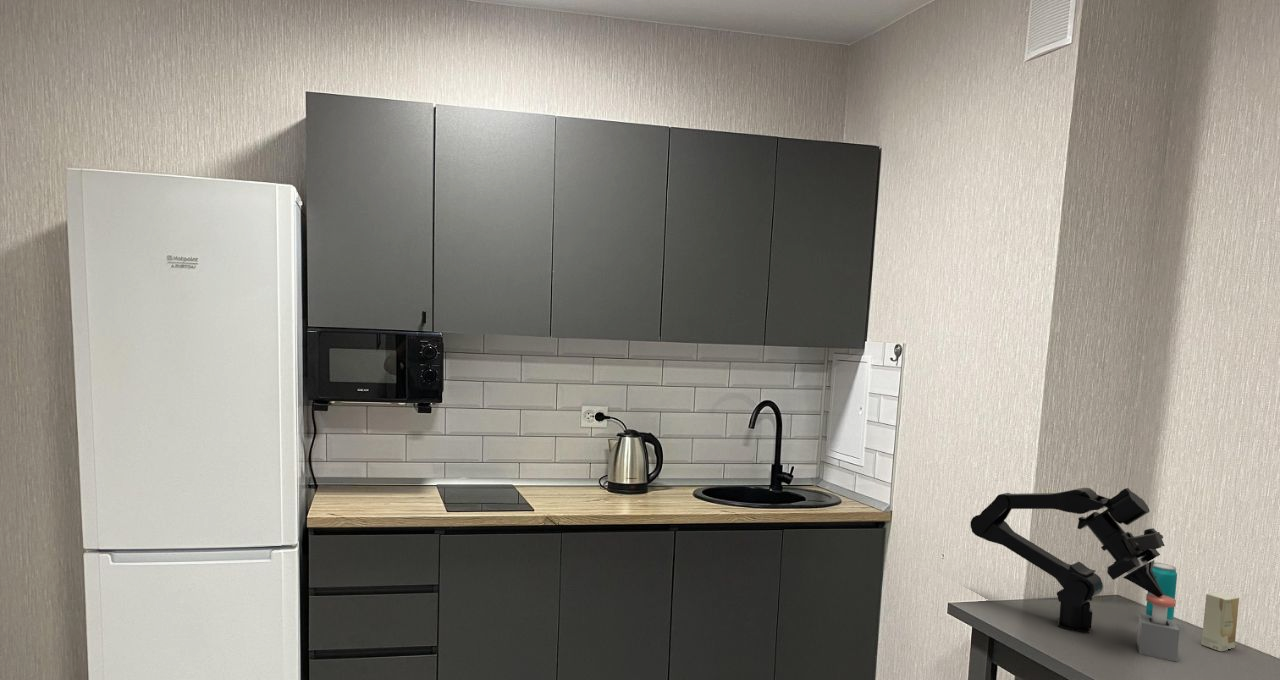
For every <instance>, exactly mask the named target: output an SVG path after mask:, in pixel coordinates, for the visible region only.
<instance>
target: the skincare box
mask: <svg viewBox="0 0 1280 680" xmlns="http://www.w3.org/2000/svg"><path fill="white" fill-rule="evenodd" d="M1204 603H1205V604H1204V605H1205V606H1204V613H1203V624H1202V632H1201V633H1202V635H1201V641H1200V642H1201V645H1202V646H1205V647H1207V648H1210V649H1212V650H1215V651H1218V652H1226V651H1229V650H1228V649H1231V648H1233V647H1234V648H1235V645H1236V635H1237V634H1236V633H1237V626H1238V623H1237V622H1238V613H1239V604H1240V597H1238V596H1234V595H1232V594H1229V593H1225V592H1222V591H1218V592H1210V593H1206V594H1205V602H1204ZM1231 650H1232V649H1231Z"/></svg>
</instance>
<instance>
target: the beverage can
mask: <svg viewBox="0 0 1280 680" xmlns="http://www.w3.org/2000/svg"><path fill="white" fill-rule="evenodd" d="M1153 573H1154V575H1155V578H1156V580H1157V582H1158V584H1159V586H1160V588H1161V590H1162V592H1163V595H1165V596H1169V597H1171V598H1173V599H1175V600H1176V593H1177V592H1176V589H1177V583H1178V582H1177V581H1178V580H1177V579H1178V573H1177V567H1176V566H1174V565H1173V564H1172V565H1170V564H1168V563H1162V562H1154V564H1153ZM1148 593H1150V592H1148V591H1147V594H1148ZM1145 605H1146V607H1145V615H1149V616H1152V610H1153V604H1152V603H1149V602H1147V601H1146V604H1145ZM1174 615H1175V607H1168V610H1167V619H1169V620H1174Z"/></svg>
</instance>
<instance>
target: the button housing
mask: <svg viewBox="0 0 1280 680" xmlns="http://www.w3.org/2000/svg"><path fill="white" fill-rule="evenodd" d="M1151 621H1152V616H1149V615H1146V614H1143V613H1138V626H1137V627H1138V628H1137V637H1136V645H1137V649H1138V653H1140V655H1144V656H1149V657H1153V658H1159V659H1163V660H1168V661H1172V662H1176V663H1177V661H1178V652H1179V650H1178V649H1179V641H1180V639H1179V638H1180V629H1179V626H1178V624H1177V621H1176V620H1174V619H1173V620H1169V619H1167V621H1166V625H1162V624H1157V623H1152V622H1151Z"/></svg>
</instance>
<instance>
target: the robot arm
mask: <svg viewBox="0 0 1280 680" xmlns="http://www.w3.org/2000/svg"><path fill="white" fill-rule="evenodd" d="M1104 508H1106V509H1105V510H1104V511H1102V512H1098V510H1102V509H1104ZM1012 510H1056V511H1057V510H1058V511H1062V512H1065V513H1071V514H1077V515H1081V514H1086V513H1090V512H1092V511H1094V512H1092V513H1090V514H1089V515H1088V516H1086V517H1085V516H1079V517H1078V518H1077V519H1078V524H1077V529H1078V530H1082V529H1085V528H1086V527H1088V528H1089V530H1090V531H1091V532H1092V534H1093V535H1094V536H1095V537H1096V539H1097V540H1098V541H1099V542H1100V544H1102V546H1101V547H1100V548H1101V550H1102V551H1107V553H1109V554H1110V556H1111V557H1112V558H1113V560H1114V562H1113V563H1112V564H1111V565H1108V566H1107V569H1106V570H1107V572H1106V573H1107V575H1108V576H1109V577H1110V578H1111V580H1112V581H1114V580H1116V579H1118V578H1119V577H1120V576H1123V575H1124V574H1126V573H1127V574H1126V575H1125V576H1123V577H1122V578H1123V579H1126V580H1127V581H1130V582H1131V583H1133V584H1135V585H1136V586H1138V587H1140V588H1142V589H1143V590H1145V591H1147V593H1148V592H1150V593H1152V594H1153V595H1155V596H1157V597H1161V596H1163V592H1162V590H1161V588H1160V586H1159V584H1158V582H1157V580H1156V578H1155V575H1154V573H1153V564H1154V563H1155V560H1154V559H1156V558H1158V557H1159V556H1161V554H1160V552H1159V551H1158V550H1157V549H1161V548H1162V547H1165V546H1166V545H1165V544H1164V540H1163V539H1164V536H1163V535H1162V534H1161V532H1160V531H1157V530H1155V528H1153V527H1152V528H1147V529H1144V531H1143V534H1140V535H1135V536H1134V535H1133V534H1132V533H1131V532H1129V531H1126V532H1125V530H1124V529H1123V527H1121V526H1120V525H1121V524H1123V525H1126V526H1130V525H1131V524H1132V523H1134V522H1135V521H1137V520H1139V519H1141V518H1142V517H1143V516H1145V515H1147V514H1148V513H1150V507H1149V506H1148V504H1147V503H1146V502H1145V500H1144V499H1143V498H1142V497H1140V496H1139V495H1138V494H1136V493H1135V492H1133V491H1132V490H1130V488H1129V487H1125V488H1123V489H1122V490H1120V491H1119V493H1118V494H1116V495H1114V496H1113V497H1111V498H1108V497H1105V496H1103V495H1100V494H1098V493H1097V492H1096V491H1094V490H1093V489H1092V488H1091V487H1081V488H1076V489H1069V490H1065V491H1059V492H1043V493H1041V492H1038V493H1035V492H1034V493H1031V492H1030V493H1011V492H1005V493H1004V492H1003V493H1000V494H998V495H997V496H996V497H994V500H993V501H992V502H990V504H988V506H987V507H986V508H984V509H983V510H982V511H981V512H980V514H977V515H975V516H973V517H972V518H971V521H970V525H969V526H970V529H971V532H972V533H973V535H974V536H976V537H979V538H980V539H983V540H986V541H987V542H991V543H995V544H998V545H1001V546H1003V547H1005V548H1007V549H1008V550H1010V551H1011V552H1013V553H1015V554H1016V555H1018V556H1020V557H1021V558H1023V559H1024V560H1026V561H1027V562H1029V563H1031V564H1032V565H1034V566H1035V567H1037V568H1039V569H1040V570H1042V571H1044V572H1045V573H1046V574H1048V575H1050V576H1052V577H1053V578H1054V579H1055V580H1056V581H1057V582H1058V583H1059V585H1060V586H1061V587H1062V589H1060V590H1059V591H1057V592H1056V596H1057V598H1058V599H1057V601H1059V612H1058V613H1059V614H1058V618H1057V619H1058V620H1057V627H1059V628H1062V629H1063V628H1064V629H1067V630H1072V631H1077V632H1082V633H1085V634H1086V633H1087V634H1089V633H1090V629H1092V624H1093V623H1092V622H1093V609H1092V608H1091V602H1092V600H1093V599H1094V598H1095V597H1096V596H1098V595H1100V594H1101V592H1102V591H1103V588H1104V586H1103V585H1104V583H1103V582H1102V578H1101V577H1100V576H1099V575H1098V574H1097V573H1096V569H1091V568H1089V567H1087V566H1086V565H1085V564H1084V563H1082V562H1080V561H1077V562H1074V563H1073V564H1069V563H1067V562H1065V561H1063V560H1061V559H1060V558H1058V557H1057V556H1055V555H1053V554H1052V553H1050V552H1048V551H1047V550H1045V549H1044V548H1042V547H1040V546H1038V545H1037V544H1035V543H1033V542H1032V541H1030V540H1029V539H1027V538H1025V537H1024V536H1021V535H1020V534H1019V533H1017V532H1015V531H1014V530H1013V529H1012V528H1011V526H1010V525H1009V524H1008V523H1007V521H1005V520H1006V519H1007V518H1008V517H1009V514H1010V513H1011V511H1012Z"/></svg>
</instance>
